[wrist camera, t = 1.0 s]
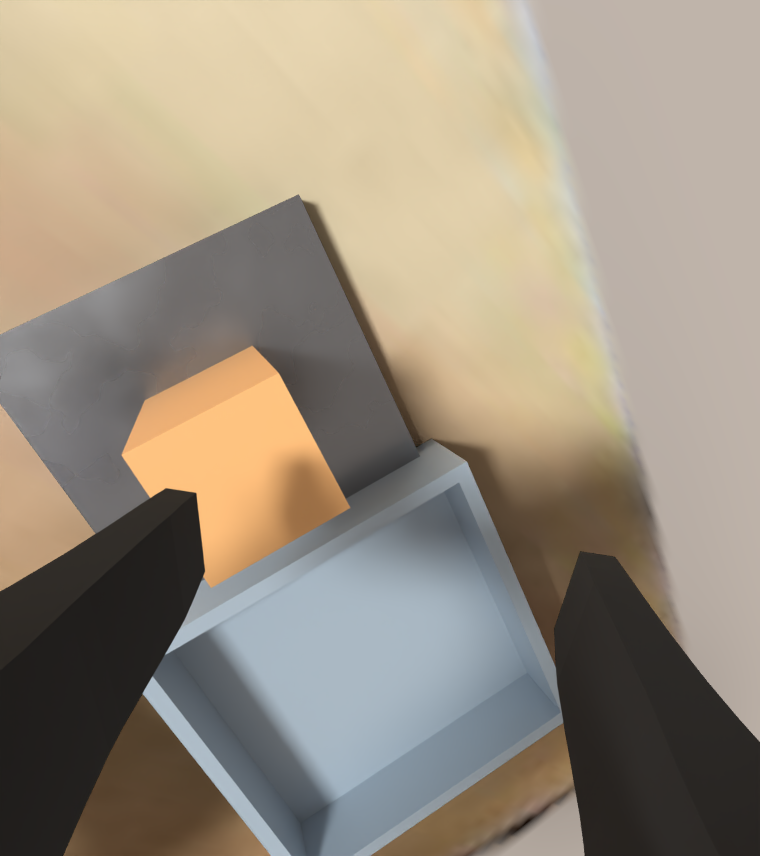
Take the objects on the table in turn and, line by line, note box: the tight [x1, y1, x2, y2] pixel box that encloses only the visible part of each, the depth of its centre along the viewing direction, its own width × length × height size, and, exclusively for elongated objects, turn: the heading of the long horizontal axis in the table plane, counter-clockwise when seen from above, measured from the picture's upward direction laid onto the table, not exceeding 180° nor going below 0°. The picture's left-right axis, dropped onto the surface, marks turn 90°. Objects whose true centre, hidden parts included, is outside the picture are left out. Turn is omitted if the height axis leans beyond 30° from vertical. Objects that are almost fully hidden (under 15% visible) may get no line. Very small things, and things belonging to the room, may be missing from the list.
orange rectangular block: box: [122, 346, 350, 588], centre depth 18 cm, size 4×4×7 cm
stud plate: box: [0, 195, 420, 581], centre depth 20 cm, size 12×12×6 cm
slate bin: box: [143, 439, 563, 856], centre depth 25 cm, size 14×14×4 cm
